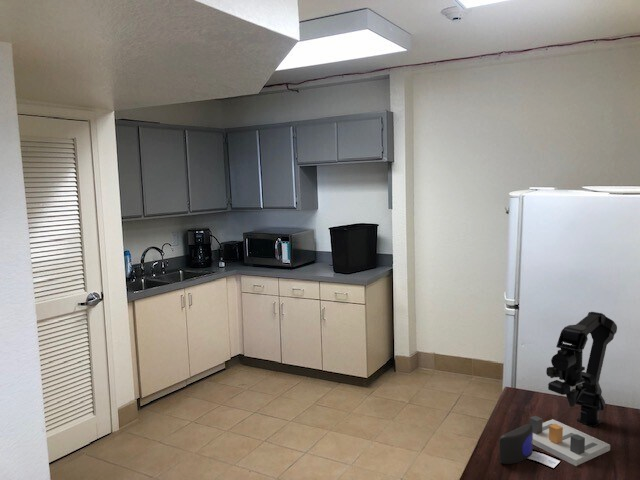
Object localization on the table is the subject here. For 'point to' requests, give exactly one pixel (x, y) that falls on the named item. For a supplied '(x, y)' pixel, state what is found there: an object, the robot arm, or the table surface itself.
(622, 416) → the table surface
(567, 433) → the breaker panel
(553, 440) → the block
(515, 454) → the leaning round-cornered charcoal block
